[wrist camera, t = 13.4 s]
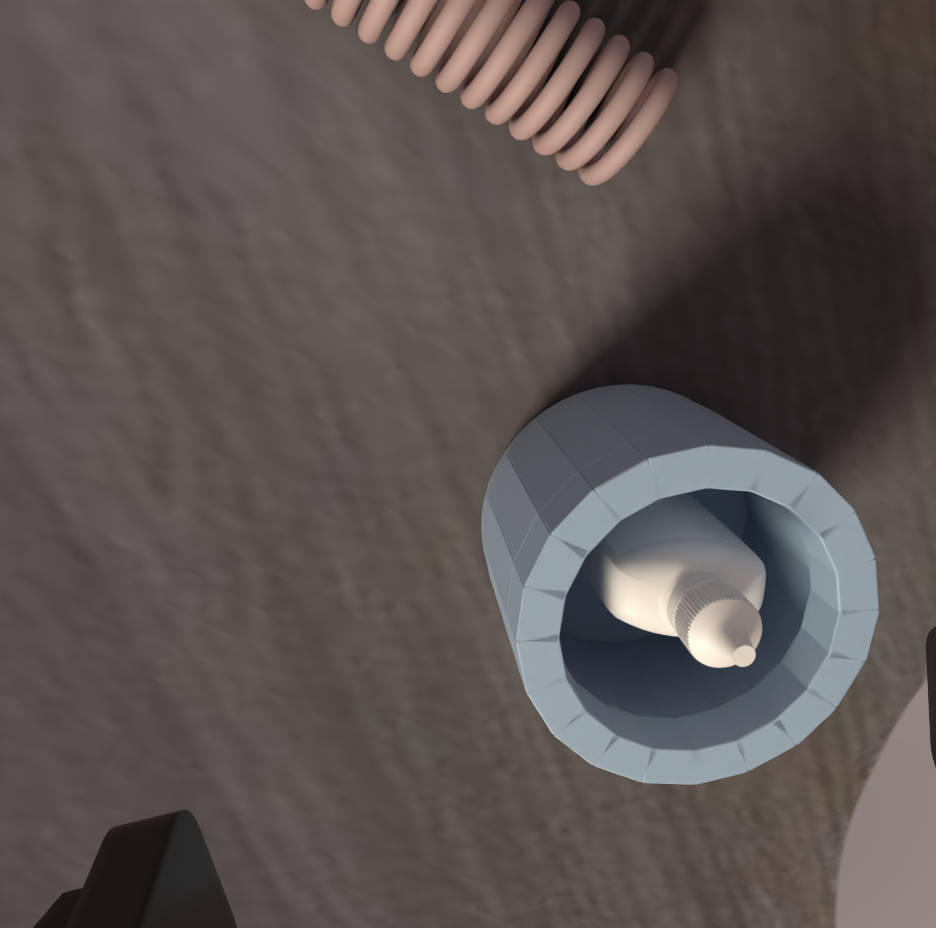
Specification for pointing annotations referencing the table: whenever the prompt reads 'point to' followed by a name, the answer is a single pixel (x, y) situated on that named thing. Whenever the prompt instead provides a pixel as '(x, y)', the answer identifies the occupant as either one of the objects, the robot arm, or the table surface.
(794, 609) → the blue-grey pot
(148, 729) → the table surface
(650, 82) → the coil
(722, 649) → the eye dropper bottle
